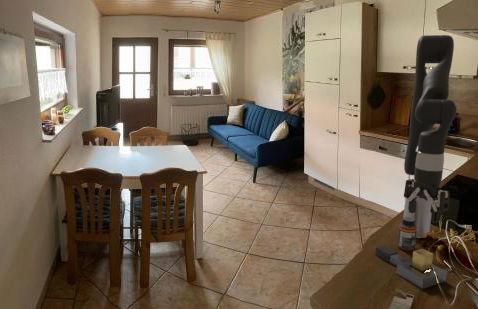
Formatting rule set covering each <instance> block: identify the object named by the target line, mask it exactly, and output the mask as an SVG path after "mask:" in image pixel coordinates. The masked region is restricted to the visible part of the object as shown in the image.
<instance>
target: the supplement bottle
mask: <svg viewBox="0 0 478 309" xmlns="http://www.w3.org/2000/svg"><path fill="white" fill-rule="evenodd" d="M403 217H404V216H403ZM403 217H402V220H401V221H402V222H400V223H399V227H398V236H397V237H398V238H397V247H398V249H400V250H402V251H405V252H411V251H415V249H416V242H417V239H416V233H417V226H416V225H415V224H414V223H415V219H413V218H411V217H404V218H403Z"/></svg>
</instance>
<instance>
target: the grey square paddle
mask: <svg viewBox="0 0 478 309" xmlns="http://www.w3.org/2000/svg"><path fill="white" fill-rule="evenodd" d="M375 256H377V257H379V258H380V259H382V260H384V261H386V262H387V263H389V264H392V265H393V266H394V267H396V274H397V275H399V276H400V277H402V278H403V279H405V280H407V281H408V282H410V283H412V284H414V285H415V286H416V287H418V288H420V289H427V288H428V287H433V286H435V285H437V284H436V279H435V274H434V272H433V271H430V272H426V273H423V274H422V273H421V272H419V271H417V270H415V269H413V268H412V259H408V258H406V257H405V256H403V255H401V254H399V253H398V251H397V250H394V249H393V248H391V247H389V246H387V245H385V244H384V245H381V246H376V247H375ZM432 267H433V268H434V271H435V272H436V274H437V276H438V279H439V282H440V283H439V284H442V283H445V282H446V281H447V275H448V274H447V272H448V271H446V270H444V269H443V268H440V267H439V266H437V265H435V264H433V263H432Z"/></svg>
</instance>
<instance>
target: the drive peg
mask: <svg viewBox="0 0 478 309" xmlns="http://www.w3.org/2000/svg"><path fill="white" fill-rule="evenodd" d="M412 251H413V252H412V259H411V260H412V268H413V269H416V270H417V271H419V272H421V273H422V274H423V273H424V272H425V271H426V270H429V269H432V264H433V260H434V253H433V252H430V251H429V250H427V249H424V248H419V249H416V250H415V249H414V250H412Z"/></svg>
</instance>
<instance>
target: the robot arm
mask: <svg viewBox="0 0 478 309" xmlns="http://www.w3.org/2000/svg"><path fill="white" fill-rule="evenodd" d="M416 44H417V45H416V51H415V52H416V53H415V54H416V55H415V72H414V73H415V75H414V84H413V85H414V87H413V93H412V101H411V108H410V116H409V118H410V120H409V122H410V123H409V132H408V140H407V145H406V146H407V147H406V152H405V157H404V169H403V170H404V173H405V174H406V175H408V176H413V178H412V179H411V178H410V179H407V180H405V184H404V190H403V197H404V210H403V217H402V219H403V218H404V217H411V218H413V219H415V223H414V224H415V225H416V226H417V233H416V238H417V237H422V236H423V235H425V234H426V233H427V232H430V231H431V222H432V223H434V224H436V223H439V222H440V221H441V216H442V213H443V212H445V211H448V210H449V209H450V208H449V206H450V194H451V193H450V190H442V189H441V187H440V185H441V184H442V180H443V172H444V171H443V170H444V164H445V149H446V148H445V147H446V141H447V135H448V133H449V130H450V128H451V125H452V123H453V121H454V119H455V117H456V114H457V105H456V103H455V102H454V101H453V100H451V99H448V97H449V93H450V92H449V90H450V89H449V88H450V86H449V84H450V82H449V81H450V73H451V69H452V65H453V64H452V63H453V56H454V49H455V43H454V38H453V37H452V36H451V35H449V34H448V35H447V34H446V35H445V34H440V35H438V34H437V35H435V34H433V35H422V36H420V37H419V39H418V41H417V43H416ZM426 64H437V65H435V66H434V67H433V68H432V69H430V71H428V73H427V69H426ZM436 125H439V126H438V127H437V128H436V129H432V128H433V127H435V126H436ZM434 199H435V200H434ZM432 209H433V210H432ZM431 210H432V212H431Z"/></svg>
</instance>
